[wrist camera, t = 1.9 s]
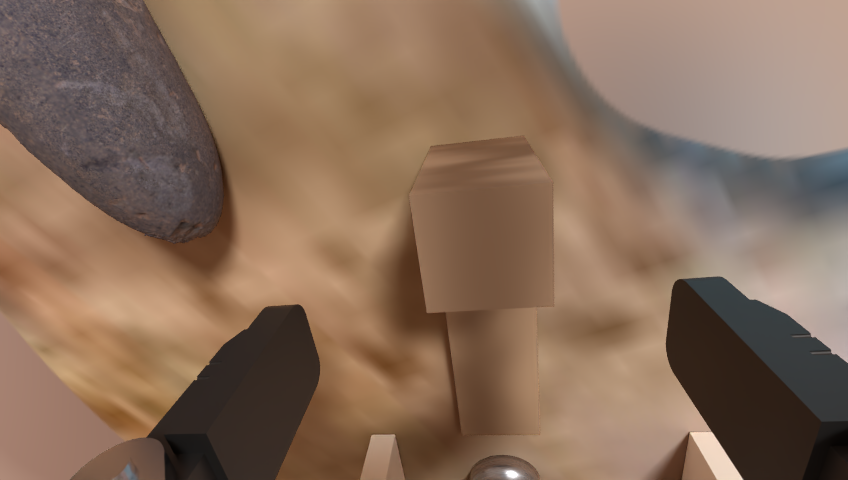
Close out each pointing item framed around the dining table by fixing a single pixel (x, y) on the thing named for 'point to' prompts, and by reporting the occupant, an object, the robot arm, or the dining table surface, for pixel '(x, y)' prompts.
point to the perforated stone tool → (110, 113)
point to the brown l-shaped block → (488, 273)
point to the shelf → (702, 475)
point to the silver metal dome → (503, 469)
